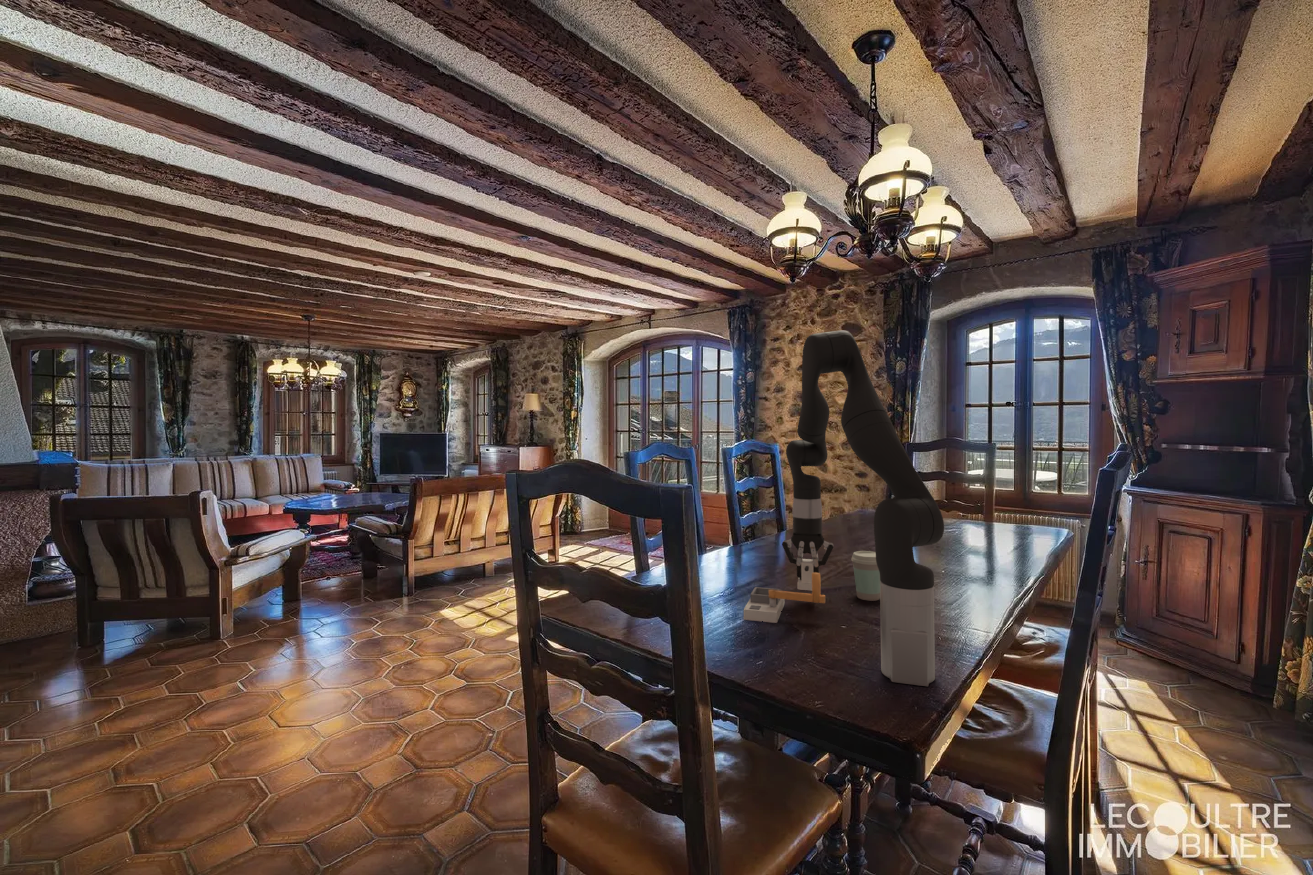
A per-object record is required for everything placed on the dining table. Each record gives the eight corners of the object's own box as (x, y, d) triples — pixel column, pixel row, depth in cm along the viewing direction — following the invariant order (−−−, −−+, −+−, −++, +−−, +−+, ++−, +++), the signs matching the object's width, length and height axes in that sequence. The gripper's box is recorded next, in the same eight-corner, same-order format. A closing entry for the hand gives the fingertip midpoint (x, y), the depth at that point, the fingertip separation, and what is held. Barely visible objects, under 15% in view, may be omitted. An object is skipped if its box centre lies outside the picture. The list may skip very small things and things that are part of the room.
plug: (816, 592, 142) (816, 566, 141) (796, 591, 143) (796, 564, 143) (818, 584, 148) (818, 559, 147) (799, 583, 149) (799, 558, 149)
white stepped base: (776, 622, 132) (776, 604, 132) (743, 619, 134) (743, 601, 134) (784, 604, 146) (784, 587, 146) (754, 601, 148) (754, 584, 148)
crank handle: (767, 597, 136) (767, 570, 136) (769, 595, 138) (769, 568, 138) (824, 603, 131) (824, 575, 130) (825, 601, 132) (825, 573, 132)
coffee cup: (887, 595, 152) (887, 552, 151) (881, 604, 144) (881, 558, 144) (855, 591, 156) (855, 549, 156) (848, 599, 149) (847, 555, 149)
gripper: (835, 513, 147) (836, 578, 147) (782, 511, 152) (782, 574, 152) (834, 518, 140) (835, 585, 140) (778, 516, 145) (779, 581, 145)
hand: (807, 579), depth 146 cm, fingers closed on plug, 3 cm apart
